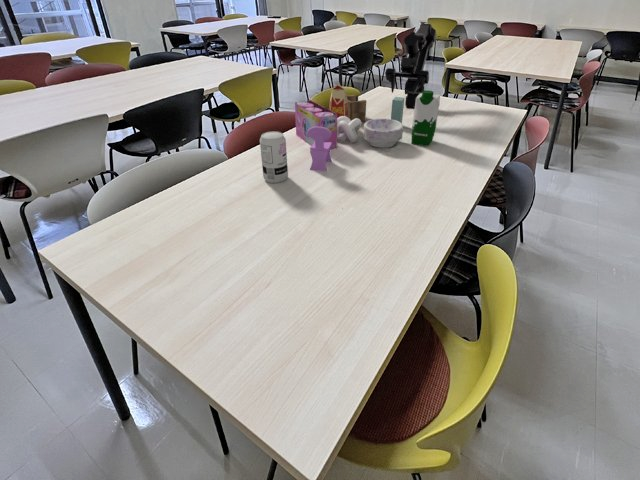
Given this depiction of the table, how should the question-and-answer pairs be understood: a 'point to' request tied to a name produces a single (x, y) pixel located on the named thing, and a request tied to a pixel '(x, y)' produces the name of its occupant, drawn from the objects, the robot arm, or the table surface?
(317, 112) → the gum box
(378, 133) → the marble bowl
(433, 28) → the robot arm
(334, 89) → the milk carton
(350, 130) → the white knot sculpture
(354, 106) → the cabinet carcass
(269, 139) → the supplement can
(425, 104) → the soya milk
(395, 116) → the teal rectangular block
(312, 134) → the toy chair
